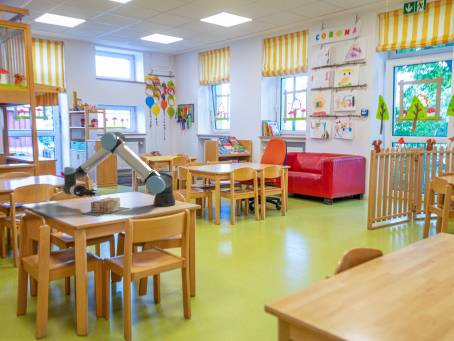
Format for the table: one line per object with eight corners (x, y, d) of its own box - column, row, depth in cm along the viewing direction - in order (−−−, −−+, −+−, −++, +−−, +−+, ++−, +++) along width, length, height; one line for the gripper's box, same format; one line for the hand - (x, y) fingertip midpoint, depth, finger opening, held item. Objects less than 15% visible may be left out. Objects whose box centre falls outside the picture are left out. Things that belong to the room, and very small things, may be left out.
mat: (129, 208, 275) (129, 208, 275) (97, 216, 251) (97, 215, 251) (115, 206, 281) (115, 206, 281) (82, 213, 257) (82, 213, 257)
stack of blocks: (107, 197, 281) (124, 198, 278) (107, 206, 281) (124, 207, 279) (90, 202, 260) (108, 203, 257) (90, 212, 260) (108, 213, 258)
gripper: (87, 195, 286) (108, 198, 272) (69, 197, 276) (90, 201, 262) (86, 184, 286) (107, 187, 271) (69, 186, 275) (90, 189, 261)
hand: (99, 194), depth 266 cm, fingers closed
